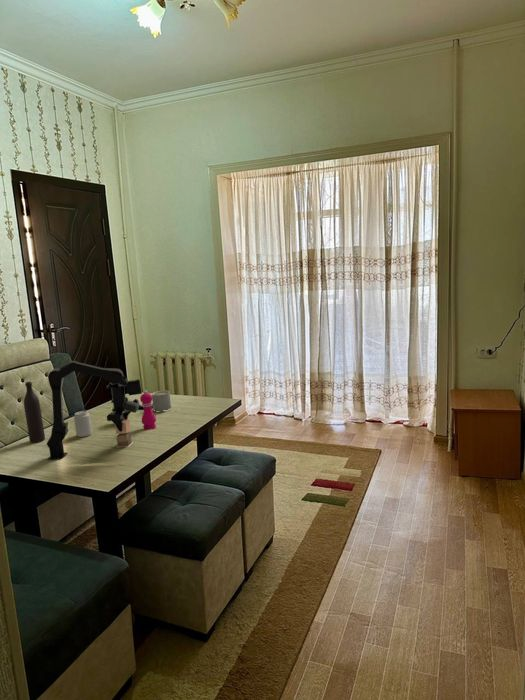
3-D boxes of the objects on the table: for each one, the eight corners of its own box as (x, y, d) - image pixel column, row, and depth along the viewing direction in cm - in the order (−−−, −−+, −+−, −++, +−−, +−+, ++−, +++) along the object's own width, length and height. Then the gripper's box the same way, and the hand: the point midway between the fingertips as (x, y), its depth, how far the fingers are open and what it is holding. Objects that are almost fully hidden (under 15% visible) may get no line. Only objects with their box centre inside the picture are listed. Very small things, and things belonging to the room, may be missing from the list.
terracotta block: (126, 433, 223) (125, 422, 222) (116, 433, 224) (114, 423, 223) (130, 429, 228) (129, 419, 227) (119, 430, 229) (118, 419, 228)
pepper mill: (142, 431, 247) (138, 393, 244) (142, 427, 254) (137, 389, 251) (157, 429, 249) (153, 391, 245) (156, 425, 256) (152, 387, 252)
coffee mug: (174, 407, 287) (172, 390, 285) (166, 412, 277) (164, 395, 276) (154, 406, 291) (152, 390, 289) (145, 411, 282) (143, 395, 280)
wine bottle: (48, 438, 248) (39, 380, 242) (38, 443, 241) (29, 383, 236) (36, 437, 250) (27, 380, 244) (26, 442, 243) (17, 384, 238)
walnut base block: (128, 446, 224) (127, 435, 224) (117, 446, 225) (116, 436, 224) (132, 442, 229) (130, 432, 228) (121, 442, 230) (120, 432, 229)
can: (87, 437, 244) (83, 414, 242) (73, 437, 245) (70, 414, 243) (95, 432, 251) (92, 410, 249) (81, 432, 253) (78, 410, 251)
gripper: (129, 401, 213) (133, 435, 216) (142, 390, 232) (146, 422, 234) (104, 402, 214) (108, 436, 217) (119, 391, 233) (123, 423, 235)
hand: (122, 429), depth 226 cm, fingers closed on terracotta block, 5 cm apart
